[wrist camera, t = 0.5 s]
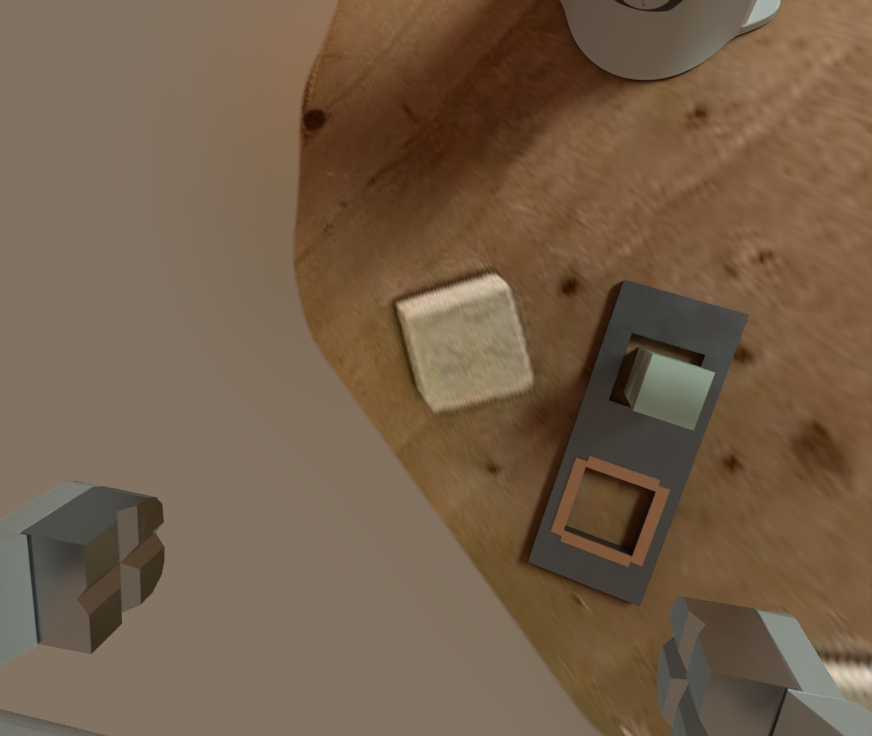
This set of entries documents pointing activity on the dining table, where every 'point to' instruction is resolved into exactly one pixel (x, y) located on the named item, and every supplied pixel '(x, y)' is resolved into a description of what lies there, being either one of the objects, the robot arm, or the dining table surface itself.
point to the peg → (667, 388)
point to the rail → (633, 441)
